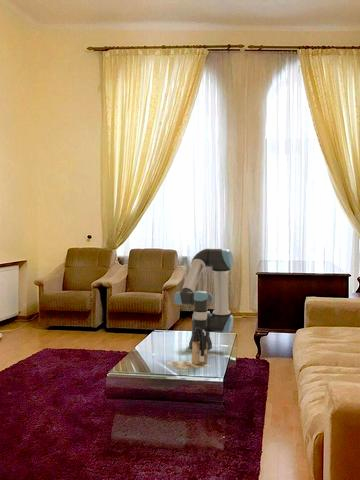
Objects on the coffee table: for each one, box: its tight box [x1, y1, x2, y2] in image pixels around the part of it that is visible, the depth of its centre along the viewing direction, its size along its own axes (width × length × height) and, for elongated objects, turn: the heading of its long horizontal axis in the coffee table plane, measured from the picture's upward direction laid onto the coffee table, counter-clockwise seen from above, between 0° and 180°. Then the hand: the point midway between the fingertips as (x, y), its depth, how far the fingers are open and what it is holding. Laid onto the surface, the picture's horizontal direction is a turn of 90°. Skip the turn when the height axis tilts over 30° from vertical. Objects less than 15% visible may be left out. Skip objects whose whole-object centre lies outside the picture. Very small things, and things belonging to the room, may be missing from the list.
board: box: [166, 359, 211, 370], centre depth 303 cm, size 20×16×1 cm
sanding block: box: [191, 341, 208, 365], centre depth 306 cm, size 7×5×12 cm
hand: (199, 360), depth 306 cm, fingers closed on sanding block, 5 cm apart
